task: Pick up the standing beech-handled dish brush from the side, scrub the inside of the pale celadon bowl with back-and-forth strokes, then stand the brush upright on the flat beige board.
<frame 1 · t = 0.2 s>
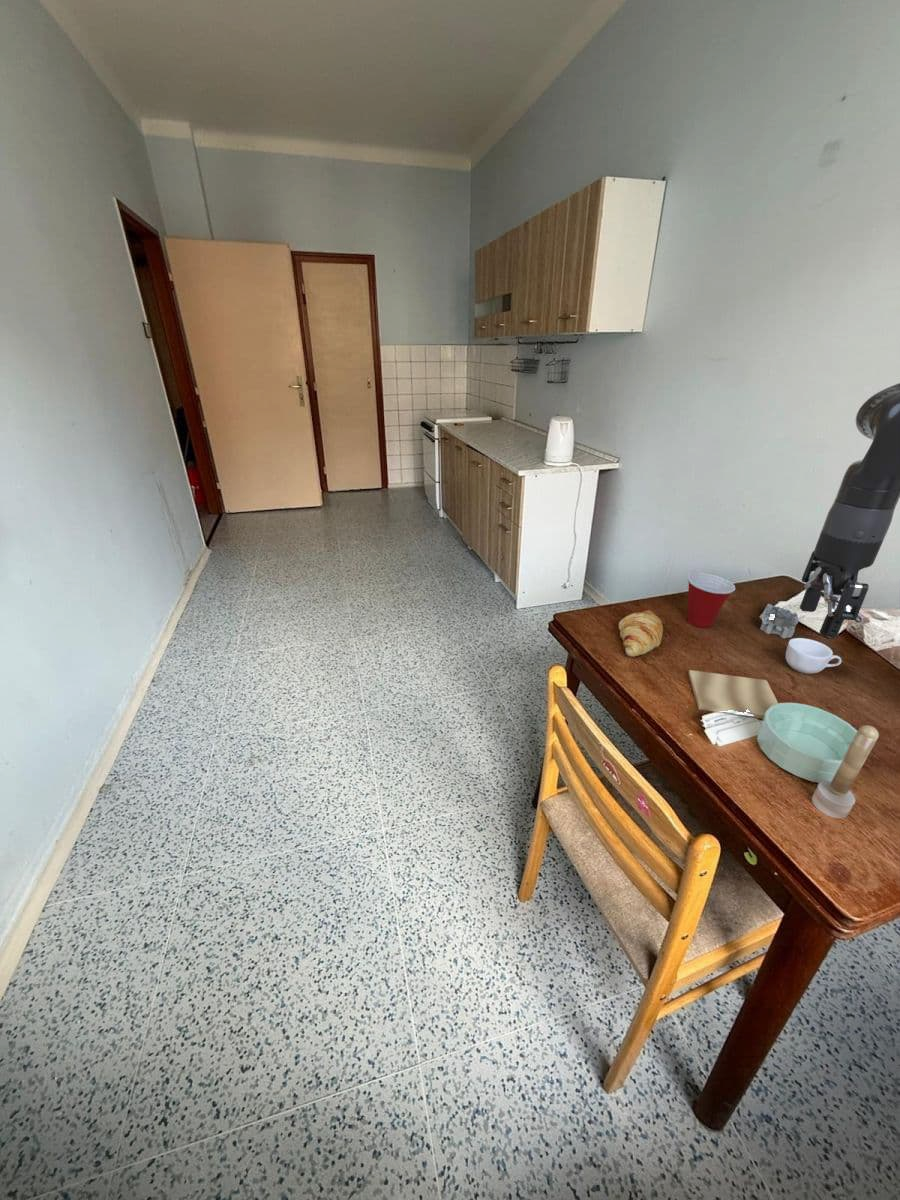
hand: (816, 622, 79), 22 cm above the table, tool pointing down, fingers open, 8 cm apart
teacup: (807, 669, 104), on the table
bowl: (803, 753, 82), on the table
plastic cup: (700, 623, 122), on the table
dish brush: (829, 805, 73), on the table
flat beige board: (732, 696, 96), on the table
egg carton: (776, 627, 119), on the table
croissant: (638, 639, 116), on the table
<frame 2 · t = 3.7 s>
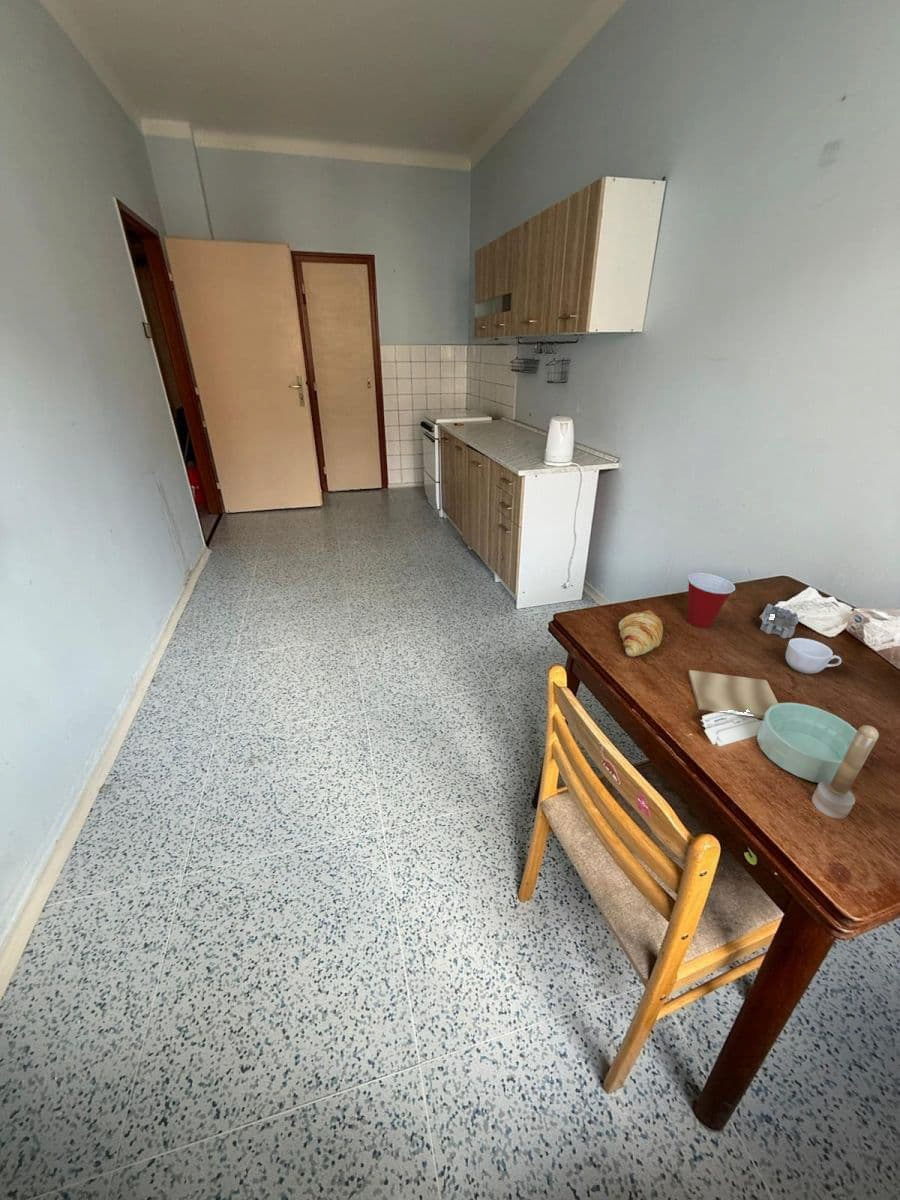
nothing on the table moved.
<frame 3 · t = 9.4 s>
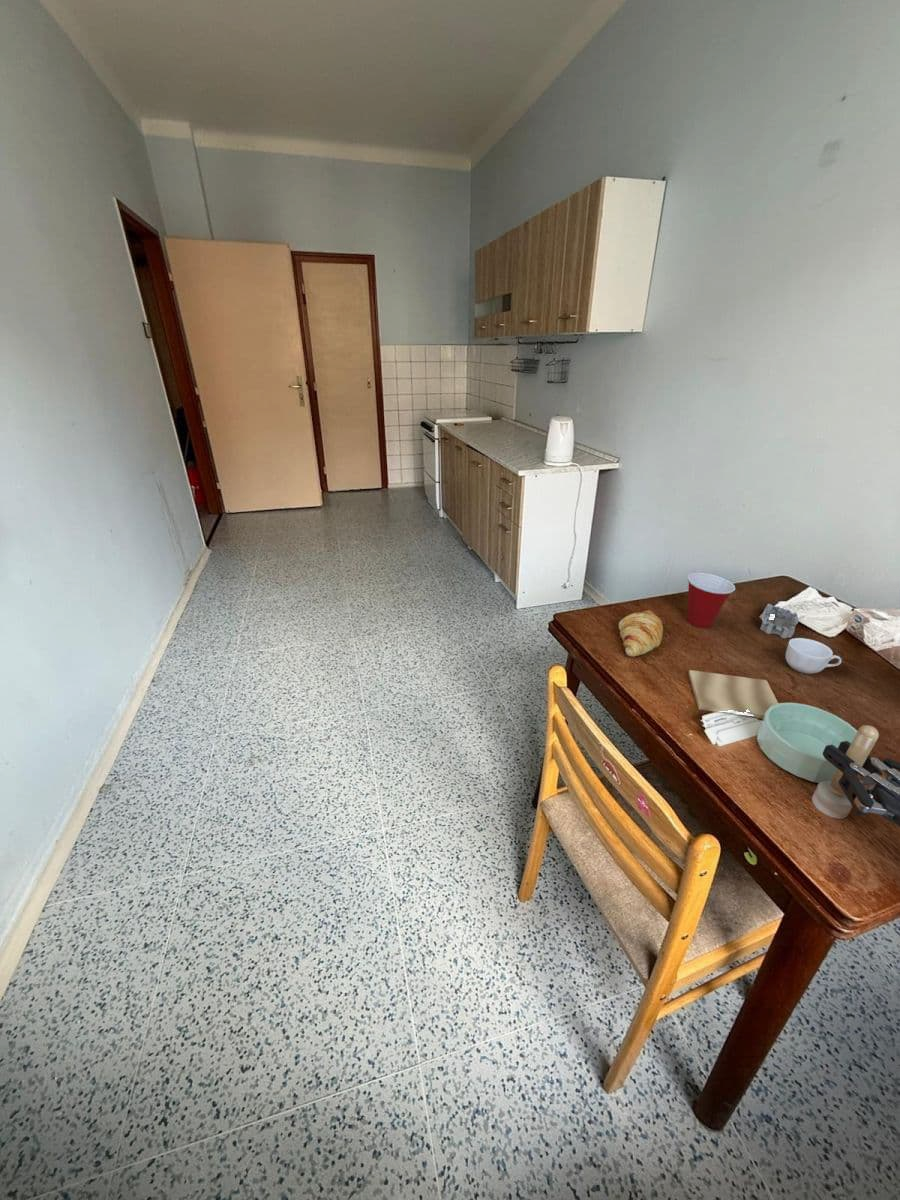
hand: (833, 747, 71), 10 cm above the table, tool horizontal, fingers closed on dish brush
dish brush: (829, 805, 73), on the table, touching gripper
everything else where it was.
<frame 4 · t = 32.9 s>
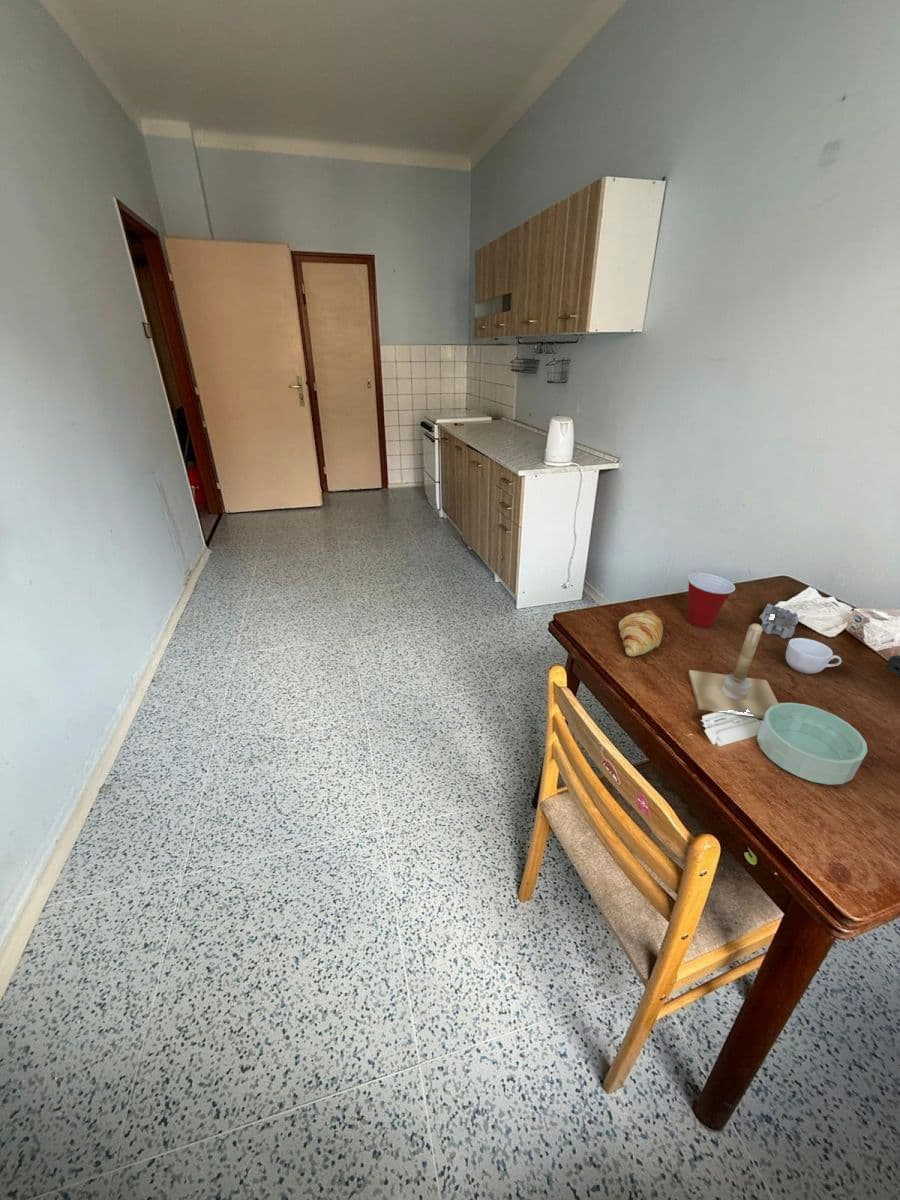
dish brush: (734, 692, 96), point 1 cm above the table, touching flat beige board
everything else where it was.
at the end: dish brush inside the target area on the flat beige board (0.1 cm from its centre), point 1.0 cm above the flat beige board's base; dish brush tilted 0°; the gripper is holding nothing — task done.
